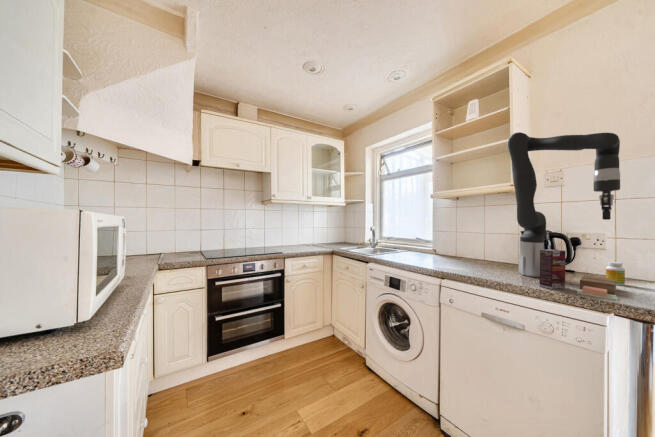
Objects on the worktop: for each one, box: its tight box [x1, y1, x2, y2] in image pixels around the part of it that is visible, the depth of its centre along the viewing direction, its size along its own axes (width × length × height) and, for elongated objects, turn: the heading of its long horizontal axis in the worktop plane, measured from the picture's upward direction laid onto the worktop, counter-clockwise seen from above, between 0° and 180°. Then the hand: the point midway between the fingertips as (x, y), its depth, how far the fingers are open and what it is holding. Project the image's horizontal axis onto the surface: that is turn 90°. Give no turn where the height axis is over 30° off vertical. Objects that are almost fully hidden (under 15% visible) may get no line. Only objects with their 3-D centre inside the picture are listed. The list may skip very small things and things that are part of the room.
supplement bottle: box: [605, 261, 626, 286], centre depth 106 cm, size 5×5×10 cm
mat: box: [576, 288, 619, 301], centre depth 90 cm, size 10×7×1 cm
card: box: [582, 286, 607, 297], centre depth 90 cm, size 5×6×2 cm
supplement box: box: [538, 248, 567, 290], centre depth 100 cm, size 9×5×16 cm, turn 106°
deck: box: [579, 274, 617, 295], centre depth 97 cm, size 14×9×4 cm, turn 128°
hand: (606, 219), depth 103 cm, fingers closed
